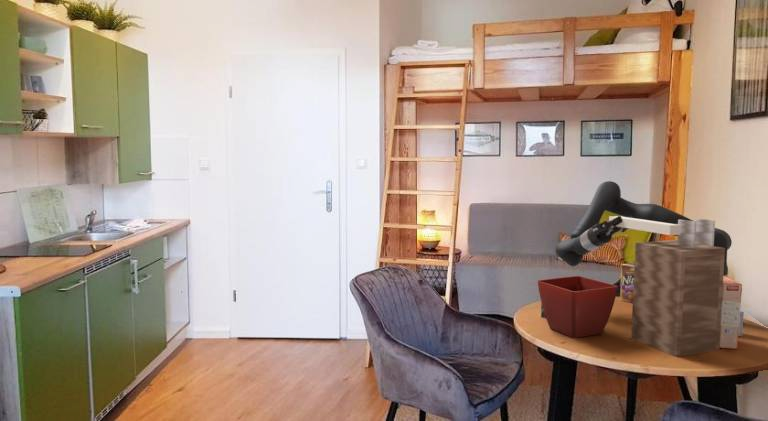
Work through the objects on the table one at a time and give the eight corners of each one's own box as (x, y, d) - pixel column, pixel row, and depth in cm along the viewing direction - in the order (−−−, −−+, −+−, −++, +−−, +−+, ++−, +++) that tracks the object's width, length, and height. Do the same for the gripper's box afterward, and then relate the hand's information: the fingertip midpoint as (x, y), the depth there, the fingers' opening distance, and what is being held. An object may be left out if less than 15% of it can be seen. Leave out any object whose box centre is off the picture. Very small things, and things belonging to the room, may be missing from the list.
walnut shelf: (631, 338, 191) (636, 218, 187) (671, 333, 197) (677, 216, 193) (676, 356, 174) (683, 224, 170) (718, 349, 180) (726, 222, 176)
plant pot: (534, 326, 204) (536, 279, 202) (577, 320, 212) (579, 275, 210) (572, 342, 187) (574, 291, 185) (617, 335, 194) (619, 286, 192)
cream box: (608, 225, 202) (609, 216, 201) (618, 224, 203) (619, 216, 203) (669, 235, 177) (670, 225, 177) (680, 234, 179) (681, 224, 179)
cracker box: (739, 349, 180) (743, 283, 178) (718, 348, 181) (722, 282, 179) (721, 336, 194) (725, 274, 192) (701, 334, 195) (705, 273, 193)
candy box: (619, 300, 241) (620, 264, 239) (625, 299, 243) (626, 263, 242) (639, 305, 233) (641, 267, 232) (645, 303, 236) (647, 266, 234)
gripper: (576, 228, 210) (606, 209, 195) (607, 227, 215) (639, 207, 200) (582, 248, 207) (613, 229, 193) (614, 245, 212) (646, 227, 198)
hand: (626, 218), depth 197 cm, fingers closed on cream box, 4 cm apart
